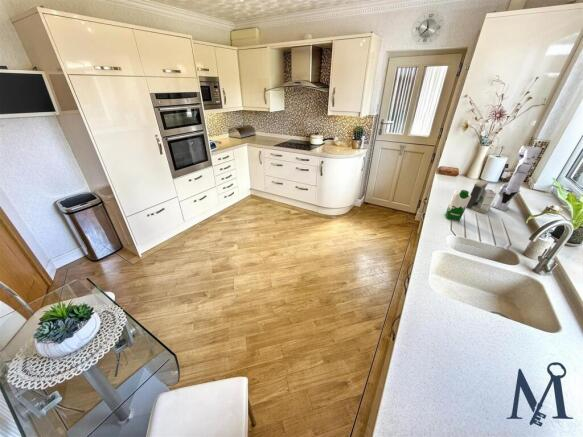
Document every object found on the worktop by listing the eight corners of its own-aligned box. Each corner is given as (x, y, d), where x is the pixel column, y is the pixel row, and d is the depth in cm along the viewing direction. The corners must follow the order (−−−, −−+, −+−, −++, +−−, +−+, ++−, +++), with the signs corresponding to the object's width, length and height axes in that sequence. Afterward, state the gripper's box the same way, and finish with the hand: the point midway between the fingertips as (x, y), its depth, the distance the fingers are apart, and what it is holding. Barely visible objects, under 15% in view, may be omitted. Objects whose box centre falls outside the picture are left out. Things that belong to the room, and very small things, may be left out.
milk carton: (445, 219, 153) (457, 191, 143) (443, 213, 160) (455, 186, 150) (460, 222, 150) (474, 194, 140) (458, 216, 157) (471, 188, 147)
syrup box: (487, 211, 165) (497, 193, 157) (478, 210, 166) (487, 191, 158) (483, 208, 170) (493, 189, 162) (474, 207, 170) (483, 188, 163)
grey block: (470, 202, 177) (481, 180, 168) (489, 208, 169) (502, 185, 160) (463, 207, 170) (474, 183, 161) (483, 213, 162) (496, 189, 152)
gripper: (520, 187, 142) (509, 206, 149) (526, 182, 150) (515, 201, 157) (506, 183, 147) (496, 202, 154) (513, 179, 155) (502, 197, 162)
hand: (505, 201), depth 156 cm, fingers open, 7 cm apart
